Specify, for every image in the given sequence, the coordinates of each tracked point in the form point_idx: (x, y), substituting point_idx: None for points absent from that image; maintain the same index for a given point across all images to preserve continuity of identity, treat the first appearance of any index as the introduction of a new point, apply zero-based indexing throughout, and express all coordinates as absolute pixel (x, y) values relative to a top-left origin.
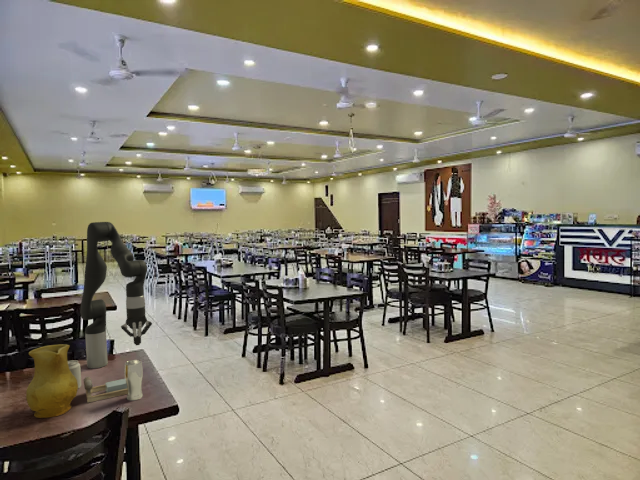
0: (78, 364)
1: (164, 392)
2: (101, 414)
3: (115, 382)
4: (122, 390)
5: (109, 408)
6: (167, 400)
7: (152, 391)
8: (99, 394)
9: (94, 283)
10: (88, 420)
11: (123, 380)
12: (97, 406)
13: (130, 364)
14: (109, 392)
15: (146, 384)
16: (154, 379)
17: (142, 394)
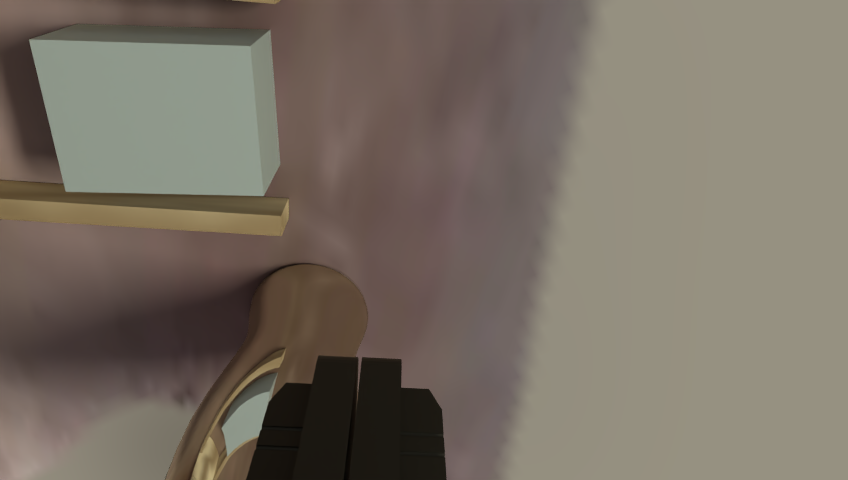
0: None
1: (521, 351)
2: (80, 428)
3: (140, 103)
4: (215, 230)
5: (127, 378)
6: (489, 467)
7: (453, 284)
8: (15, 199)
9: None
10: (9, 457)
11: (225, 97)
12: (38, 304)
13: (229, 463)
14: (102, 208)
15: (456, 104)
16: (563, 18)
17: (363, 336)
